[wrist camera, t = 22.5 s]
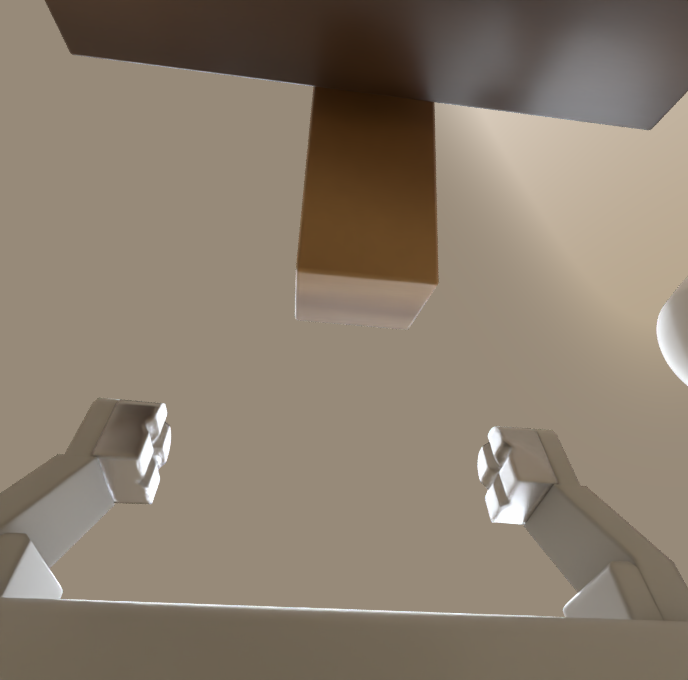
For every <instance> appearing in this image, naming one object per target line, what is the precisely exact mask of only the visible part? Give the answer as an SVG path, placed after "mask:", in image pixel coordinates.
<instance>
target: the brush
mask: <svg viewBox="0 0 688 680" xmlns="http://www.w3.org/2000/svg"><path fill="white" fill-rule="evenodd" d="M438 282H439V279H438V236H437V194H436V152H435V109H434V102H429V101H422V100H414V99H407V98H399V97H391V96H384V95H376V94H368V93H361V92H353V91H345V90H338V89H330V88H322V87H315V86H314V87H313V98H312V108H311V118H310V128H309V139H308V149H307V159H306V170H305V181H304V191H303V201H302V211H301V222H300V232H299V243H298V252H297V263H296V291H295V292H296V293H295V318H296V320H300V321H311V322H323V323H334V324H346V325H358V326H369V327H380V328H392V329H404V330H406V329H409V327H410V326H411V324H412V323H413V321H414V320H415V318H416V317H417V315H418V314H419V312H420V311H421V309H422V307H423V306H424V304H425V303H426V301H427V300H428V298H429V297H430V295H431V294H432V292H433V291H434V289H435V288H436V286H437V285H438Z"/></svg>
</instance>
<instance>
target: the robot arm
mask: <svg viewBox="0 0 688 680" xmlns="http://www.w3.org/2000/svg"><path fill="white" fill-rule="evenodd" d="M657 339H658V343H659V346H660V349H661V352H662V354H663V356H664V358H665V360H666V362H667V363H668V365H669V367H670V368H671V369H672V370H673V372H674V373H675V374H676V375H677V376H678V377H679V379H680V380H681V381H683V382H684V383H685V384H686V385H687V386H688V276H687V277H686V278H685V280H684V281H683V282H682V283H681V284H680V285H679V287H678V288H677V289H676V290H675V292H674V293H673V294H672V296H671V297H670V298H669V299H668V301H667V302H666V303H665V304H664V306H663V308H662V310H661V311H660V314H659V317H658V320H657ZM166 416H167V410H166V406H165V404H162V403H152V402H142V401H131V400H119V399H107V398H98V399H97V400H96V401H94V402H93V404H92V405H91V407H90V409H89V410H88V412H87V414H86V416H85V418H84V420H83V421H82V423H81V425H80V427H79V429H78V431H77V433H76V434H75V436H74V438H73V440H72V441H71V443H70V445H69V447H68V449H67V451H66V453H65V454H64V455H63V454H57V455H56V456H54V457H53V458H51V459H50V460H49V461H47V462H46V463H44V464H43V465H41V466H40V467H38V468H37V469H35V470H34V471H32V472H31V473H29V474H28V475H27V476H25V477H24V478H22V479H21V480H19V481H18V482H16V483H15V484H13V485H12V486H10V487H9V488H7V489H6V490H4V491H3V492H1V493H0V680H688V587H687V586H686V584H685V582H684V580H683V578H682V577H681V575H680V573H679V571H678V569H677V567H676V566H675V564H674V562H673V561H672V560H670V559H669V558H668V557H667V556H666V555H665V554H663V553H662V552H661V551H660V550H659V549H658V548H657V547H655V546H654V545H653V544H652V543H651V542H650V541H649V540H647V539H646V538H645V537H644V536H643V535H642V534H641V533H639V532H638V531H637V530H636V529H635V528H634V527H633V526H631V525H630V524H629V523H628V522H627V521H626V520H624V519H623V518H622V517H621V516H620V515H619V514H617V513H616V512H615V511H614V510H613V509H612V508H611V507H610V506H608V505H607V504H606V503H605V502H604V501H603V500H601V499H600V498H599V497H598V496H597V495H596V494H595V493H593V492H592V491H591V490H590V489H589V488H588V487H586V486H580V483H579V481H578V479H577V477H576V475H575V473H574V470H573V468H572V466H571V464H570V462H569V460H568V458H567V455H566V453H565V451H564V449H563V447H562V445H561V443H560V440H559V439H558V436H557V434H556V433H555V432H554V431H553V430H542V429H531V428H516V427H499V426H495V427H493V428H492V429H491V430H490V432H489V434H488V438H489V441H490V442H488V443H487V444H485V445H484V446H482V448H481V450H480V453H479V456H478V464H477V465H478V474H479V478H480V482H481V483H482V484H483V485H484V486H485V487H486V488H487V489H488V492H487V495H486V496H485V500H486V504H487V507H488V511H489V515H490V518H491V522H499V523H511V524H524V527H525V528H526V530H527V531H528V532H529V533H530V535H531V536H532V537H533V538H534V540H535V541H536V542H537V543H538V544H539V546H540V547H541V548H542V549H543V550H544V552H545V553H546V554H547V555H548V557H549V558H550V559H551V560H552V562H553V563H554V564H555V565H556V567H557V568H558V569H559V570H560V571H561V573H562V574H563V575H564V576H565V578H566V579H567V580H568V581H569V582H570V584H571V585H572V586H573V587H574V589H575V590H576V591H577V592H578V593H577V594H576V595H575V596H574V597H573V598H572V599H571V600H570V601H569V602H568V603H567V604H566V605H565V607H564V608H563V612H564V615H565V617H547V616H519V615H518V616H517V615H491V614H463V613H435V612H406V611H405V612H404V611H379V610H351V609H350V610H349V609H322V608H294V607H265V606H238V605H207V604H179V603H152V602H151V603H150V602H122V601H94V600H66V599H60V598H61V595H62V593H63V590H62V588H61V586H60V584H59V583H58V581H57V580H56V578H55V577H54V575H53V574H52V572H51V571H50V569H49V568H50V567H51V566H52V565H54V563H56V562H57V561H58V560H59V559H60V557H62V556H63V555H64V554H65V553H66V552H67V551H68V550H69V549H70V548H71V547H72V546H73V545H74V544H75V543H76V542H77V541H78V540H79V539H80V538H81V537H82V536H83V535H84V534H85V533H86V532H87V531H88V530H89V529H90V528H91V527H92V526H93V525H95V524H96V523H97V522H98V521H99V519H101V518H102V517H103V516H104V515H105V514H106V513H107V512H108V511H109V510H110V509H111V508H112V507H113V506H114V503H132V504H135V503H136V504H152V501H153V498H154V495H155V492H156V489H157V487H158V484H159V481H160V477H159V472H158V469H159V468H160V467H161V466H162V465H164V464H165V463H166V460H167V457H168V454H169V448H170V442H171V431H170V425H168V424H167V423H166V422H165V418H166Z"/></svg>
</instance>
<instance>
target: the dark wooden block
mask: <svg viewBox="0 0 688 680" xmlns="http://www.w3.org/2000/svg"><path fill="white" fill-rule="evenodd" d="M45 2H46V4H47V5H48V8H49V10H50V12H51V14H52V16H53V18H54V20H55V22H56V24H57V26H58V28H59V30H60V32H61V35H62V37H63V39H64V41H65V43H66V45H67V47H68V49H69V51H70V53H71V54H73V55H78V56H86V57H93V58H101V59H108V60H116V61H124V62H132V63H139V64H146V65H154V66H162V67H170V68H177V69H185V70H192V71H201V72H208V73H215V74H224V75H231V76H239V77H246V78H254V79H262V80H269V81H277V82H285V83H292V84H299V85H307V86H315V87H322V88H330V89H338V90H345V91H353V92H361V93H368V94H376V95H384V96H391V97H399V98H407V99H414V100H422V101H429V102H437V103H445V104H452V105H460V106H468V107H475V108H484V109H491V110H498V111H506V112H514V113H521V114H529V115H537V116H545V117H552V118H560V119H567V120H575V121H583V122H590V123H598V124H605V125H613V126H621V127H629V128H637V129H644V130H651V129H652V128H653V127H654V126H655V125H656V124H657V123H658V122H659V121H660V120H661V119H662V117H664V115H665V114H666V113H667V112H668V111H669V110H670V109H671V108H672V107H673V106H674V105H675V104H676V103H677V102H678V101H679V100H680V99H681V98H682V97H683V96H684V94H685V93H686V92H687V91H688V0H45Z"/></svg>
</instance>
